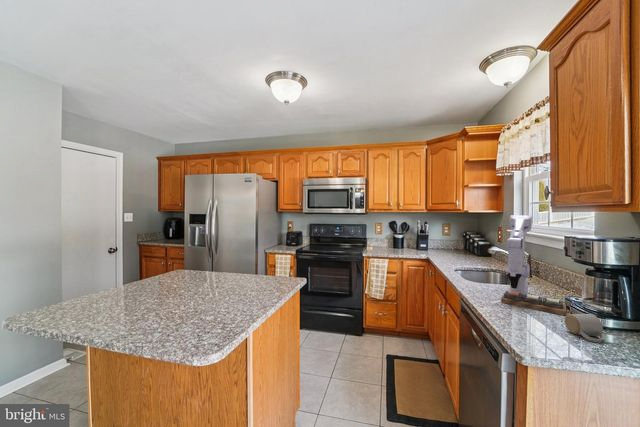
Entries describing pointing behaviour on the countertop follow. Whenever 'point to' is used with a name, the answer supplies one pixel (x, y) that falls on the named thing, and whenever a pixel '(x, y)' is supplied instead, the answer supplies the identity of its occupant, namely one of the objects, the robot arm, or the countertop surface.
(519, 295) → the terracotta button
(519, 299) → the button panel
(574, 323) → the ceramic mug
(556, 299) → the sage button
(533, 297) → the cream button
